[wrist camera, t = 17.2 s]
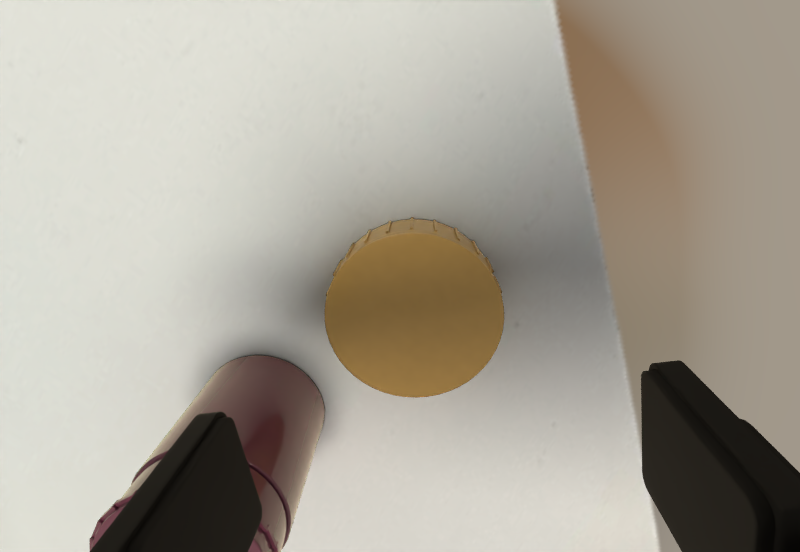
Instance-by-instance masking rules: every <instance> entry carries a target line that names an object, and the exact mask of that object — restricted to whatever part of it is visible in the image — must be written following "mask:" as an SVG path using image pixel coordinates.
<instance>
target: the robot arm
mask: <svg viewBox="0 0 800 552" xmlns="http://www.w3.org/2000/svg"><path fill="white" fill-rule="evenodd" d="M641 394H642V395H641V396H642V398H641V400H642V401H641V402H642V473H643V479H644V483H645V486H646V488H647V490H648V492H649V494H650V496H651V497H652V499H653V501H654V503H655V505H656V506H657V508H658V510H659V512H660V513H661V515H662V517H663V519H664V520H665V522H666V524H667V526H668V528H669V529H670V531H671V533H672V534H673V536H674V538H675V540H676V542H677V544H678V545H679V547H680V549H681V551H682V552H800V473H799V472H798V471H797V470H796V469H795V468H794V467H793V466H792V465H791V464H790V463H789V462H788V461H787V460H786V459H785V458H784V457H783V456H782V455H781V454H780V453H779V452H778V451H777V450H776V449H775V448H774V447H773V446H772V445H771V444H770V443H769V442H768V441H767V440H766V439H765V438H764V437H763V436H762V435H761V434H760V433H759V432H758V431H757V430H756V429H755V428H754V427H753V426H752V425H751V424H749V423H748V422H746V421H745V420H742V419H739V418H738V417H737V416H736V415H735V414H734V413H733V412H732V411H731V410H730V409H729V408H728V407H727V406H726V405H725V404H724V403H723V402H722V401H721V400H720V399H719V398H718V397H717V396H716V395H715V394H714V393H713V392H712V391H711V390H710V389H709V388H708V387H707V386H706V385H705V384H704V383H703V382H702V381H701V380H700V379H699V378H698V377H697V376H696V375H695V374H694V373H693V372H692V371H691V370H690V369H689V368H688V367H687V366H686V365H685V364H684V363H683V362H682V361H670V362H661V363H652V364H651V365H650V368H649V371H643V372H642V375H641ZM261 518H262V505H261V502H260V499H259V496H258V493H257V490H256V487H255V484H254V480H253V477H252V474H251V471H250V468H249V465H248V462H247V459H246V456H245V453H244V450H243V447H242V444H241V441H240V438H239V435H238V432H237V429H236V426H235V423H234V420H233V419H232V418H231V417H227V416H226V414H225V413H224V412H212V413H203V414H198V415H196V416H195V417H194V418H193V420H192V421H191V422H190V424H189V425H188V426H187V427H186V429H185V430H184V431H183V433H182V434H181V435H180V436H179V438H178V439H177V440H176V442H175V443H174V444H173V445H172V447H171V448H170V449H169V451H168V452H167V453H166V454H165V456H164V457H163V458H162V460H161V461H160V462H159V463H158V465H157V466H156V467H155V469H154V470H153V471H152V472H151V474H150V475H149V476H148V478H147V479H146V480H145V481H144V483H143V484H142V485H141V487H140V488H139V489H138V490H137V492H136V493H135V494H134V496H133V497H132V498H131V499H130V501H129V502H128V503H127V504H126V506H125V507H124V508H123V510H122V511H121V512H120V513H119V515H118V516H117V517H116V519H115V520H114V521H113V522H112V524H111V525H110V526H109V528H108V529H107V530H106V531H105V533H104V534H103V535H102V537H101V538H100V539H99V540H98V542H97V543H96V544H95V546H94V547H93V548H92V549H91V551H90V552H248V551H249V548H250V546H251V544H252V541H253V539H254V537H255V534H256V532H257V529H258V527H259V525H260V522H261Z"/></svg>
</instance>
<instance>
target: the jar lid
mask: <svg viewBox="0 0 800 552" xmlns="http://www.w3.org/2000/svg"><path fill="white" fill-rule="evenodd" d="M493 272H494V271H493V269H492V266H491V264H490V262H489V260H488V258H487V257H484V256H483V254H482V253H481V251H480V250H479V249H478V248H477V246H476V244H475V241H474V240H472V241H471V240H469V239H468V238H467V237H466V236H465V235H463V234H462V233H460V232H459V231H458V230H457V228H454V229H453V228H451V227H449V226H447V225H445V224H441V223H438V222H436V220H433V221H429V220H423V219H414V218H413V217H412V218H411V219H407V220H399V221H395V222H391V221H388V224H385V225H382V226H380V227H378V228H376V229H374V230H372V231H371V230H368V232H367V234H366V235H364V236H363V237H362V238H361V239H359V240H358V241H357V242H356V243H355V244H354V243H353V244H352V245H351V247H350V249H349V251H348V253H347V254H346V256H345V258H344V259H343V261H342V260H340V262H339V264H338V266H337V268H336V270H335V272H334V273H333V276H334V278H333V281H332V283H331V285H330V287H329V289H328V291H327V293H326V296H327V298H326V303H325V326H326V332H327V335H328V338H329V341H330V344H331V346H332V348H333V350H334V352H335V354H336V355H337V357H338V358H339V360H340V361H341V363H342V364H343V365H344V366H345V367H346V368H347V370H349V371H350V372H351V373H352V374H353V375H354V376H355V377H356V378H358V379H359V380H361V381H362V382H363V383H365V384H367V385H369V386H370V387H372V388H374V389H377V390H379V391H382V392H385V393H388V394H392V395H396V396H402V397H428V396H434V395H439V394H442V393H445V392H448V391H451V390H453V389H455V388H458V387H459V386H461V385H463V384H465V383H466V382H468V381H469V380H471V379H472V378H473V377H474V376H476V375H477V374H478V373H479V372H480V371H481V370H482V369H483V368H484V367H485V366H486V364H487V363H488V362H489V360H490V359H491V357H492V356H493V354H494V352H495V351H496V349H497V346H498V344H499V341H500V339H501V335H502V331H503V324H504V306H503V300H502V296H501V293H502V290H501V288H500V286H499V284H498V281H497V279H496V277H495V276H494V275H493Z"/></svg>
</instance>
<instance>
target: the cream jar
mask: <svg viewBox="0 0 800 552" xmlns="http://www.w3.org/2000/svg"><path fill="white" fill-rule="evenodd" d="M212 412H224V413H225V414H226V416H227V417H231V418H232V419H233V420H234V423H235V426H236V429H237V432H238V435H239V438H240V441H241V444H242V447H243V450H244V453H245V456H246V459H247V462H248V465H249V468H250V471H251V474H252V477H253V480H254V484H255V487H256V490H257V493H258V496H259V499H260V502H261V505H262V518H261V522H260V525H259V527H258V529H257V532H256V534H255V537H254V539H253V541H252V544H251V546H250V548H249V551H248V552H281V550H282V549H283V547H284V546H285V544H286V542H287V540H288V537H289V534H290V531H291V528H292V524H293V521H294V518H295V515H296V511H297V508H298V505H299V502H300V498H301V495H302V492H303V488H304V485H305V482H306V479H307V475H308V472H309V469H310V466H311V462H312V459H313V456H314V453H315V449H316V446H317V443H318V440H319V436H320V433H321V430H322V426H323V423H324V417H325V412H324V404H323V400H322V397H321V394H320V392H319V390H318V388H317V387H316V385H315V384H314V382H313V381H312V380H311V379H310V378H309V376H307V375H306V374H305V373H304V372H303V371H302V370H300V369H299V368H298V367H296V366H294V365H293V364H291V363H289V362H287V361H284V360H282V359H279V358H275V357H270V356H262V355H253V356H245V357H241V358H238V359H234V360H232V361H230V362H228V363H226V364H225V365H223V366H222V367H220V368H219V369H218V370H217V371H216V372H215V373H214V375H213V376H212V377H211V378H210V380H209V381H208V382H207V383H206V385H205V386H204V387H203V389H202V390H201V391H200V392H199V394H198V395H197V396H196V398H195V399H194V400H193V401H192V403H191V404H190V405H189V407H188V408H187V409H186V410H185V412H184V413H183V414H182V415H181V417H180V418H179V419H178V421H177V422H176V423H175V424H174V426H173V427H172V428H171V430H170V431H169V432H168V433H167V435H166V436H165V437H164V439H163V440H162V441H161V442H160V444H159V445H158V446H157V448H156V449H155V450H154V451H153V453H152V454H151V455H150V456H149V458H148V459H147V460H146V462H145V463H144V464H143V465H142V467H141V468H140V469H139V471H138V472H137V473H136V475H135V477H134V479H133V480H132V483H131V486H130V487H129V489H128V490H127V491H126V493H125V494H124V495H123V496H122V498H121V499H119V500H117V501H116V502H115V503H114V504H113V505H112V506H111V507H110V508H109V509H108V510H107V511H106V512H105V513H104V514H103V515H102V517H101V518H100V519H99V520H98V522H97V525H96V527H95V530H94V532H93V534H92V537H91V538H90V551H91V549H92V548H93V547H94V546H95V544H96V543H97V542H98V540H99V539H100V538H101V537H102V535H103V534H104V533H105V531H106V530H107V529H108V528H109V526H110V525H111V524H112V522H113V521H114V520H115V519H116V517H117V516H118V515H119V513H120V512H121V511H122V510H123V508H124V507H125V506H126V504H127V503H128V502H129V501H130V499H131V498H132V497H133V496H134V494H135V493H136V492H137V490H138V489H139V488H140V487H141V485H142V484H143V483H144V481H145V480H146V479H147V478H148V476H149V475H150V474H151V472H152V471H153V470H154V469H155V467H156V466H157V465H158V463H159V462H160V461H161V460H162V458H163V457H164V456H165V454H166V453H167V452H168V451H169V449H170V448H171V447H172V445H173V444H174V443H175V442H176V440H177V439H178V438H179V436H180V435H181V434H182V433H183V431H184V430H185V429H186V427H187V426H188V425H189V424H190V422H191V421H192V420H193V418H194V417H195V416H196V415H198V414H203V413H212Z"/></svg>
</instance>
